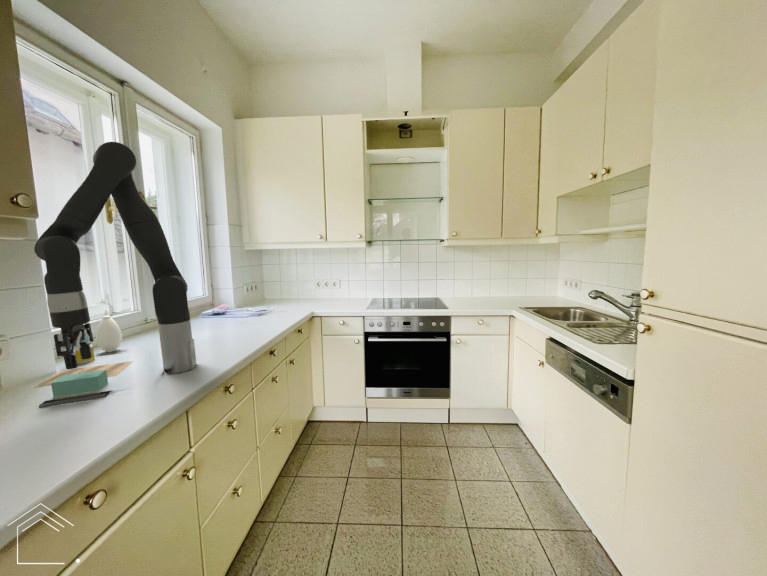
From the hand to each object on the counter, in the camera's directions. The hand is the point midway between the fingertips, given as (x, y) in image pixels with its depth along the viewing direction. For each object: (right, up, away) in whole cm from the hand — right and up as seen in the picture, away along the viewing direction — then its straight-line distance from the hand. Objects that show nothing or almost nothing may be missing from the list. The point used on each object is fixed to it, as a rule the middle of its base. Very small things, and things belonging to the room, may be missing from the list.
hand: (80, 363), depth 87 cm
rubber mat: (-1, -10, +2) cm, 10 cm away
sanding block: (-1, -9, +2) cm, 9 cm away
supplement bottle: (-24, -7, +26) cm, 36 cm away
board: (-11, -8, +14) cm, 20 cm away
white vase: (-28, -6, +41) cm, 50 cm away
